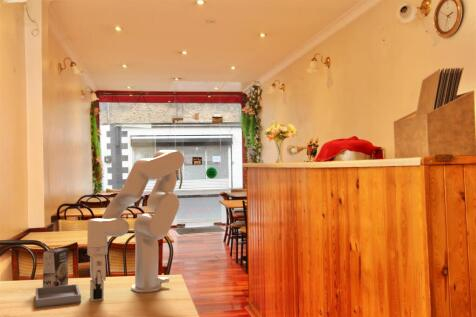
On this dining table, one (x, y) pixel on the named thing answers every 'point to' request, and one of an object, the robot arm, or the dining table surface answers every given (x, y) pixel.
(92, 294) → the cream rectangular block
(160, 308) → the dining table surface
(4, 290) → the dining table surface
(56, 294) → the tray
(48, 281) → the coffee box
